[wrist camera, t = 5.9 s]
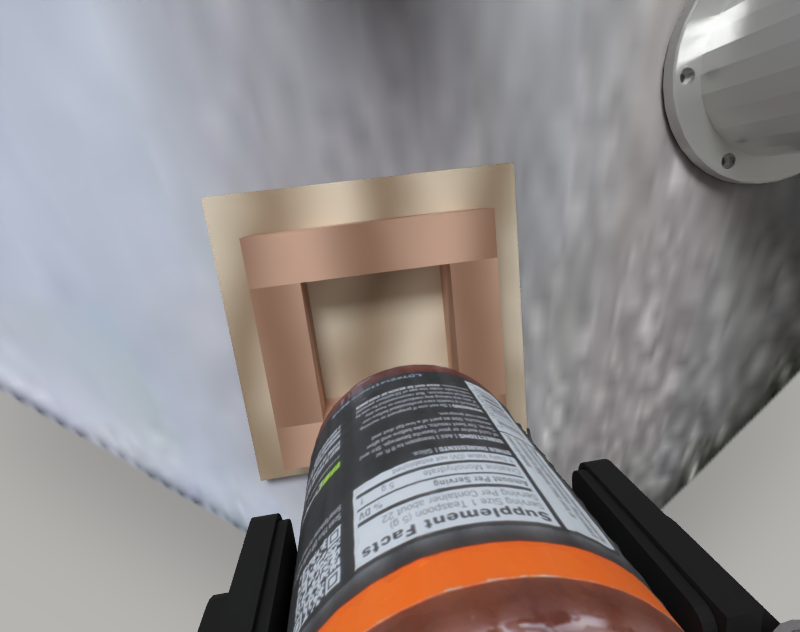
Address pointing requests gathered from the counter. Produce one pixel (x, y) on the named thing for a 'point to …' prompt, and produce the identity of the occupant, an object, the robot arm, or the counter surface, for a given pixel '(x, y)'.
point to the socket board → (366, 293)
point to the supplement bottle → (451, 523)
